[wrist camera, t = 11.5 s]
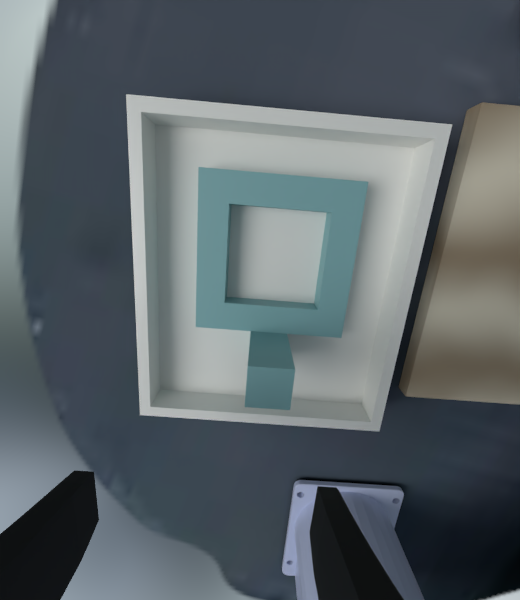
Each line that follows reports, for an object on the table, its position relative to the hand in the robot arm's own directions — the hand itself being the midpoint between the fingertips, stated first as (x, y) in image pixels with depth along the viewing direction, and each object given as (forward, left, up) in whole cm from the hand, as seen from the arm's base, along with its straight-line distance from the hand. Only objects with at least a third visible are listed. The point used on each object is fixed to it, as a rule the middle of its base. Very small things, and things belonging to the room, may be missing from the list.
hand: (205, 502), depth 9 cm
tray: (+6, -2, -9) cm, 11 cm away
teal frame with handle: (+6, -2, -9) cm, 11 cm away
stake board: (+7, -17, -9) cm, 21 cm away
